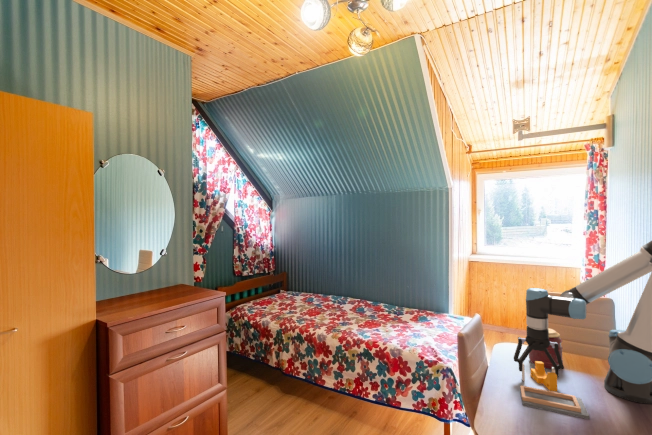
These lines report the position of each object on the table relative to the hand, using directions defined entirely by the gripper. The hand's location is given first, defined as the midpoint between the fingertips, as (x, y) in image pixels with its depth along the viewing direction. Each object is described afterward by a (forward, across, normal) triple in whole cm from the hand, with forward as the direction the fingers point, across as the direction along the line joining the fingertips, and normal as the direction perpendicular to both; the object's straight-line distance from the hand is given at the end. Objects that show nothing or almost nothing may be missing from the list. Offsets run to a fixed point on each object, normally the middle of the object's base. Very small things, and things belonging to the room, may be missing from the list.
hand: (538, 381), depth 131 cm
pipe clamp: (+1, -2, 0) cm, 2 cm away
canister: (0, -5, -22) cm, 23 cm away
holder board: (0, -3, +15) cm, 15 cm away
